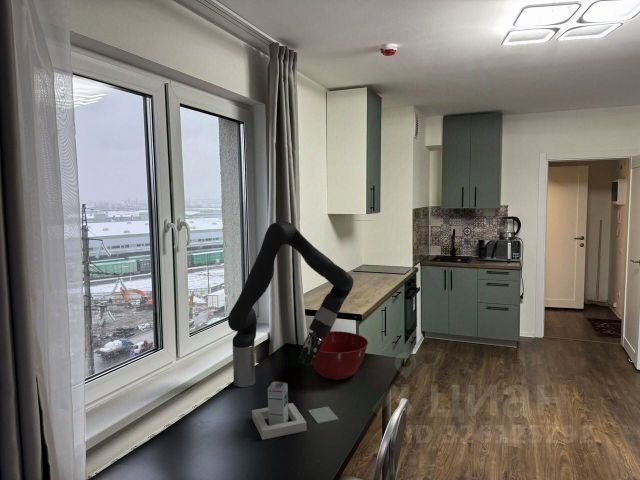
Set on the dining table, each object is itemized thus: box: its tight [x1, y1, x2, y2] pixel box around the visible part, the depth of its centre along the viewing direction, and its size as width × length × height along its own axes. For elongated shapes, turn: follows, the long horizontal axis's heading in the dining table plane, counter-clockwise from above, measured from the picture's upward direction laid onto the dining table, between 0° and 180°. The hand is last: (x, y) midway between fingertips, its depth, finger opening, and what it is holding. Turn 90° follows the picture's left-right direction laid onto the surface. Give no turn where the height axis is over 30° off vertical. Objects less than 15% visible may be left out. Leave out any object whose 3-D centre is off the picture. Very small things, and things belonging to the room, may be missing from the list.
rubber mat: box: [307, 406, 340, 425], centre depth 166 cm, size 10×8×1 cm
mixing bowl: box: [304, 330, 369, 381], centre depth 203 cm, size 28×28×16 cm
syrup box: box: [267, 381, 290, 426], centre depth 159 cm, size 6×6×14 cm
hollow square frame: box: [251, 402, 308, 441], centre depth 160 cm, size 16×16×3 cm
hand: (303, 362), depth 164 cm, fingers open, 8 cm apart
